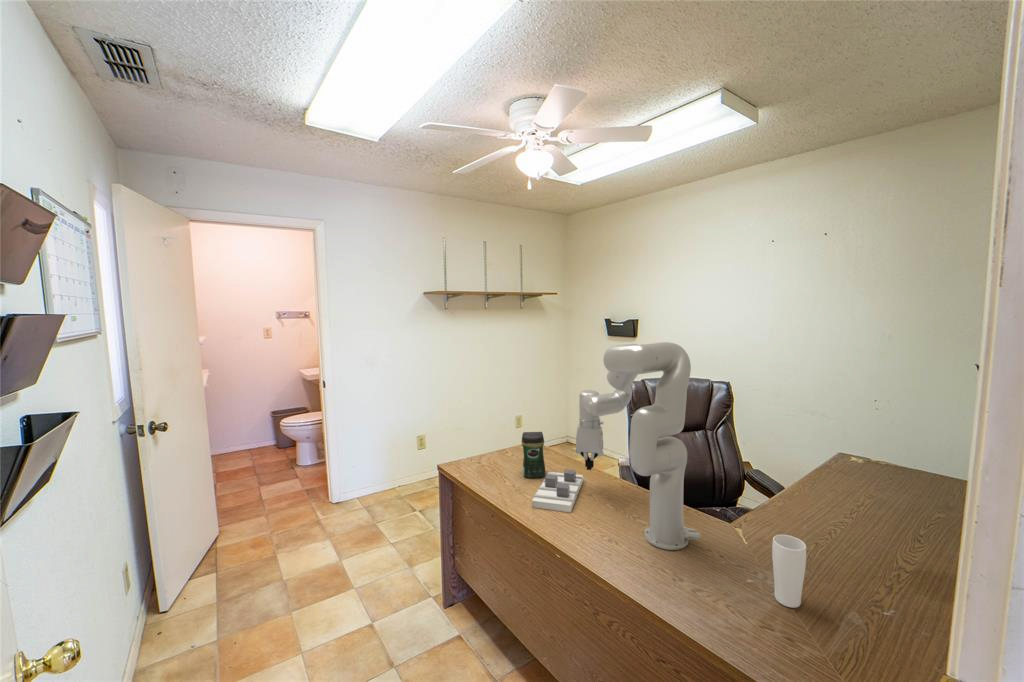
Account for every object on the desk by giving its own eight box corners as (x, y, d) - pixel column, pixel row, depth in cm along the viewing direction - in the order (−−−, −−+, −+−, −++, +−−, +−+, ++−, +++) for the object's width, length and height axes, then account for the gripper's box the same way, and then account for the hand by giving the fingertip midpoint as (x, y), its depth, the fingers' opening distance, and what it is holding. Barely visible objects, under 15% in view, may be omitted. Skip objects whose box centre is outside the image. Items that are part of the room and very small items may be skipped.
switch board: (583, 481, 171) (583, 473, 171) (570, 512, 147) (570, 503, 146) (549, 477, 176) (549, 470, 175) (532, 507, 151) (531, 498, 151)
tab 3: (576, 478, 167) (575, 470, 167) (574, 482, 164) (574, 473, 163) (566, 477, 168) (565, 469, 168) (564, 481, 165) (564, 472, 165)
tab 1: (557, 483, 163) (557, 475, 163) (555, 487, 160) (555, 479, 159) (547, 482, 164) (547, 474, 164) (545, 486, 161) (544, 478, 161)
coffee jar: (545, 470, 183) (543, 429, 181) (545, 478, 175) (544, 435, 173) (522, 471, 183) (521, 429, 181) (522, 479, 175) (520, 435, 173)
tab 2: (569, 493, 155) (569, 484, 155) (567, 497, 152) (567, 488, 151) (558, 491, 156) (558, 483, 156) (556, 496, 153) (556, 487, 153)
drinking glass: (791, 590, 105) (793, 533, 104) (811, 610, 98) (813, 549, 97) (764, 592, 105) (766, 534, 103) (783, 612, 98) (785, 551, 97)
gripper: (610, 421, 162) (610, 467, 165) (571, 418, 167) (572, 462, 170) (608, 427, 155) (608, 475, 158) (568, 424, 160) (568, 470, 163)
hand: (589, 468), depth 164 cm, fingers closed
